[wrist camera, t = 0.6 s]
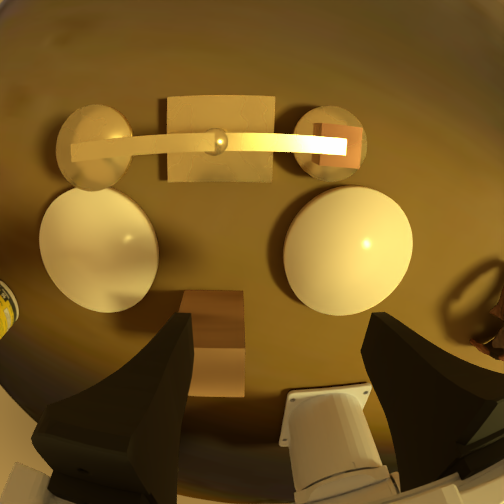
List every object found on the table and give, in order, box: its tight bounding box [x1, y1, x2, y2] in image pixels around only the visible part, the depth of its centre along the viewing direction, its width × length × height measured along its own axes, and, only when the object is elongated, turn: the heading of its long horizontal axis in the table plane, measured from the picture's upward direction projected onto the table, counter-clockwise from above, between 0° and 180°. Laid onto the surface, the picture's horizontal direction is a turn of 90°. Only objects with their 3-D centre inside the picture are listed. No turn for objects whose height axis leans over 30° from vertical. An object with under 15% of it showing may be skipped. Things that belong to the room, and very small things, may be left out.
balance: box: [56, 95, 367, 192], centre depth 14 cm, size 5×17×6 cm, turn 88°
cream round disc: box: [39, 187, 159, 312], centre depth 19 cm, size 9×9×1 cm
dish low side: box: [283, 185, 412, 315], centre depth 20 cm, size 9×9×1 cm
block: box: [178, 290, 245, 397], centre depth 19 cm, size 4×4×6 cm
